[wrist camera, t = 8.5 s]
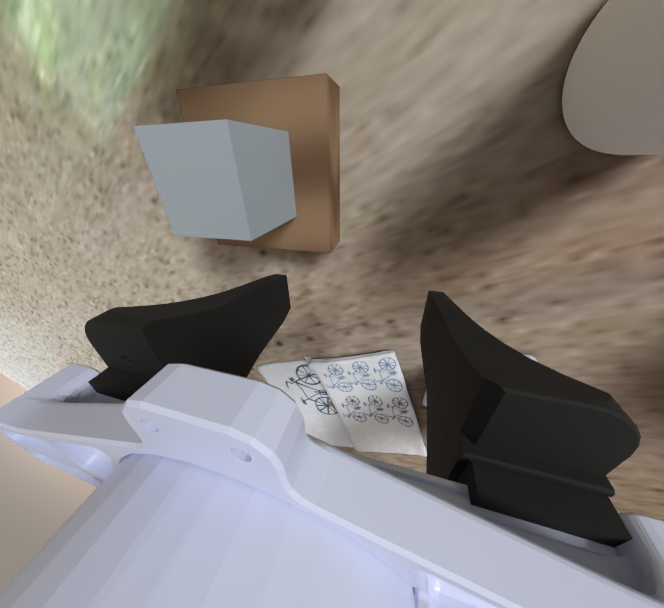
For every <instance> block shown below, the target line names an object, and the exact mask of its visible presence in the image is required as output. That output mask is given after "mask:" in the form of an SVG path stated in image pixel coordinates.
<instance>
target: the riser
mask: <svg viewBox="0 0 664 608" xmlns="http://www.w3.org/2000/svg"><path fill="white" fill-rule="evenodd" d="M176 93H177V97H178V100H179V104H180V107H181V111H182V115H183V118H184V122H198V121H211V120H224V119H227V120H232V121H237V122H242V123H247V124H252V125H257V126H262V127H267V128H272V129H277V130H282V131H287V132H288V134H289V144H290V154H291V165H292V175H293V185H294V195H295V206H296V216H297V217H295V218H293V219H291V220H289V221H287V222H285V223H284V224H282V225H280V226H278V227H276V228H274V229H272V230H271V231H269V232H267V233H265V234H263V235H261V236H259V237H258V238H256V239H254V240H252V241H247V240H232V239H217V240H218V244H224V245H236V246H249V247H261V248H274V249H286V250H299V251H312V252H324V253H330V252H331V251H332V250H333V249H334V247H335V246H336V245H337V244H338V243H339V241H340V184H339V86H338V85H337V84H336V83H335V82H334V81H333V80H332V79H331V78H330V77H329V76H328V75H327V74H326V73H324V74H314V75H305V76H296V77H287V78H278V79H269V80H259V81H250V82H241V83H232V84H223V85H214V86H205V87H195V88H186V89H177V90H176Z"/></svg>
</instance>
